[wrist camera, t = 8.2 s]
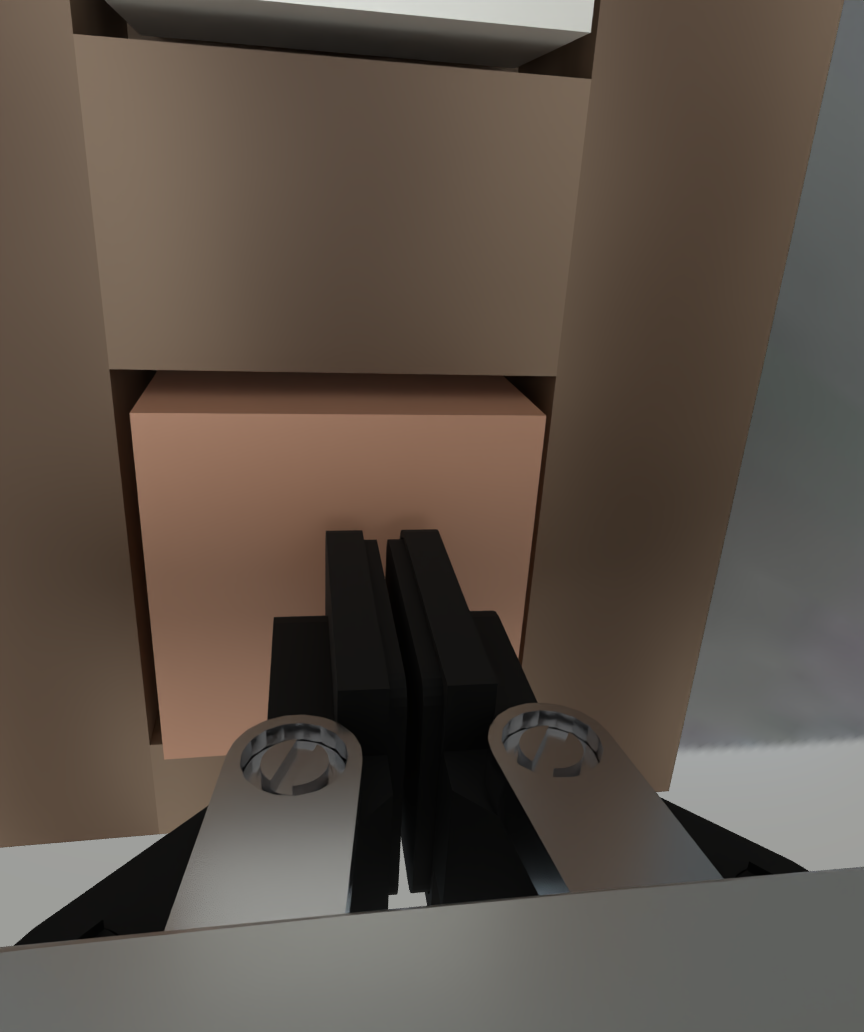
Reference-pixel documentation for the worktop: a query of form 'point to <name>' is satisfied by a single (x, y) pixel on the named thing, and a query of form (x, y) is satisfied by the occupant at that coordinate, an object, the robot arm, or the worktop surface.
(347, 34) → the offwhite key
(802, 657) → the worktop surface
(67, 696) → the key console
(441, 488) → the terracotta key
